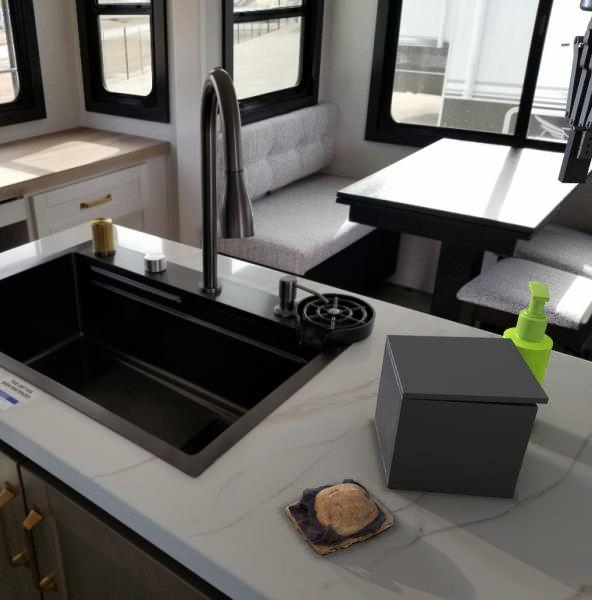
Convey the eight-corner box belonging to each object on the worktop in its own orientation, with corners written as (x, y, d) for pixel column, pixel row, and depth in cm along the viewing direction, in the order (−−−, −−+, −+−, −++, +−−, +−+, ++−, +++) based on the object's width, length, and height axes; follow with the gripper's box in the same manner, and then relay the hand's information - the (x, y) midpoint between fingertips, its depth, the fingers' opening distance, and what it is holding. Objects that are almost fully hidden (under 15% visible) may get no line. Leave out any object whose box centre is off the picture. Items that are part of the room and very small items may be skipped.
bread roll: (354, 481, 79) (357, 458, 77) (399, 529, 72) (403, 504, 71) (279, 506, 75) (281, 482, 74) (319, 559, 68) (322, 534, 67)
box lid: (510, 343, 81) (511, 337, 81) (547, 404, 70) (549, 398, 69) (385, 339, 83) (386, 334, 83) (402, 398, 72) (403, 392, 71)
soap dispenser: (527, 406, 92) (561, 281, 83) (532, 435, 86) (570, 304, 77) (483, 398, 94) (512, 275, 85) (485, 426, 88) (517, 297, 79)
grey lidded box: (482, 429, 88) (502, 346, 82) (512, 498, 76) (538, 407, 70) (373, 421, 89) (385, 340, 83) (387, 488, 78) (402, 398, 72)
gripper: (566, -28, 76) (522, 167, 87) (617, -28, 65) (559, 196, 75) (634, -29, 75) (581, 168, 86) (697, -29, 64) (627, 198, 74)
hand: (571, 181), depth 81 cm, fingers closed
